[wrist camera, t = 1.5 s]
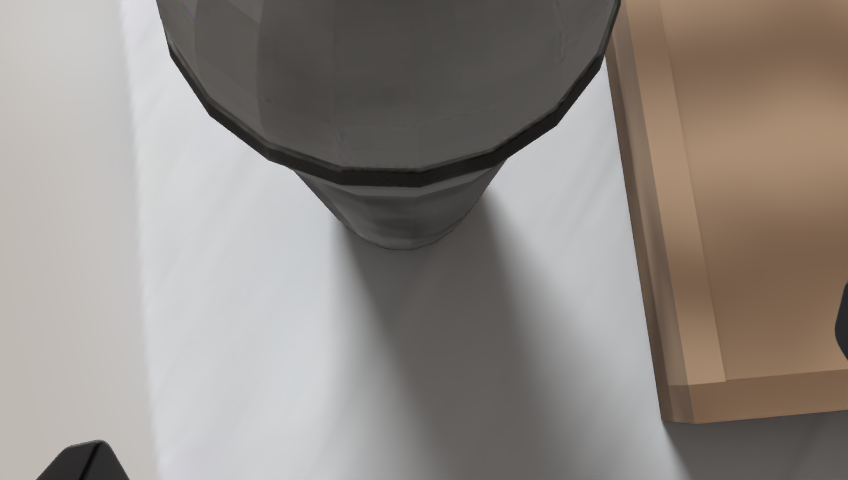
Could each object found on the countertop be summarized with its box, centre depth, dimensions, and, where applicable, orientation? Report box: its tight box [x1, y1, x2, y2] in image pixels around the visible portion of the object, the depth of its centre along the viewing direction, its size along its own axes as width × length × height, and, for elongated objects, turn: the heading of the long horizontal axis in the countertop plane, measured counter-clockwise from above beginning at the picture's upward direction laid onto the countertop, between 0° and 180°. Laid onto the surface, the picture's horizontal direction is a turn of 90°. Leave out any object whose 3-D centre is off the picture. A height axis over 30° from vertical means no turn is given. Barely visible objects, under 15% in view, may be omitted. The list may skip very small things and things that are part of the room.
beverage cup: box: [156, 0, 621, 250], centre depth 12 cm, size 7×7×20 cm
